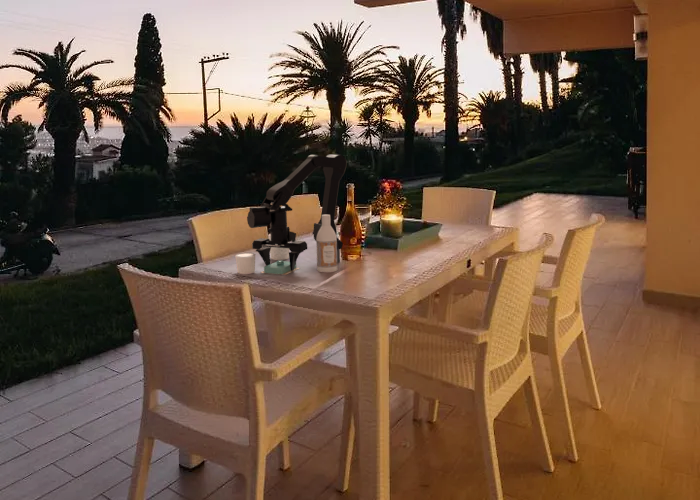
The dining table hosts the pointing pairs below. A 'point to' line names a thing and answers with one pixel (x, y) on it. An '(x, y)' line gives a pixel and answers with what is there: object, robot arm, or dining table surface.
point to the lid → (278, 267)
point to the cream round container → (245, 263)
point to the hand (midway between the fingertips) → (280, 269)
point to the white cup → (278, 252)
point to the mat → (286, 272)
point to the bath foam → (326, 247)
